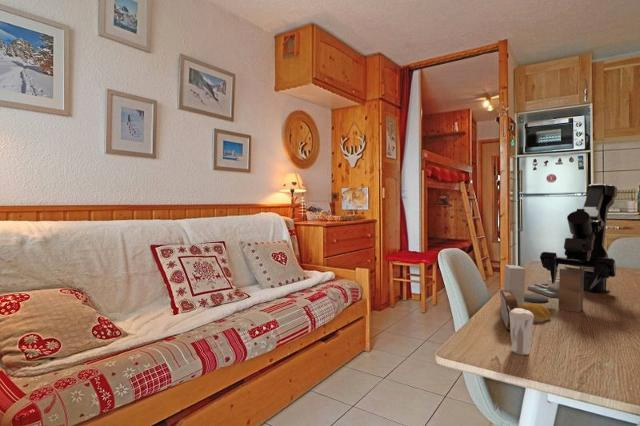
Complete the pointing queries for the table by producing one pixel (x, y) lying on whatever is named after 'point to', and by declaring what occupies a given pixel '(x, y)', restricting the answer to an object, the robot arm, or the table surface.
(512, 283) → the skincare box
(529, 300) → the coaster
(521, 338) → the milkshake
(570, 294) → the handle block
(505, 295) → the tin
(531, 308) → the bread roll
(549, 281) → the switch tab
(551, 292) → the switch board
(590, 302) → the table surface
